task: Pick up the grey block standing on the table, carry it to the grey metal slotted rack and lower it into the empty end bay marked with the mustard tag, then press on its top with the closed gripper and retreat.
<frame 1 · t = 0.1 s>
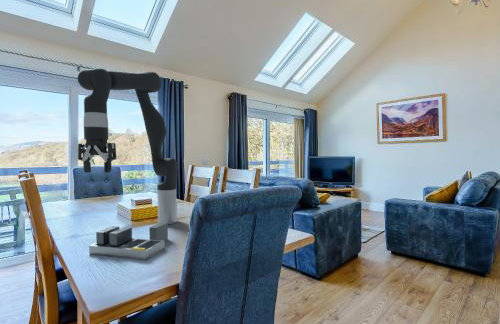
hand: (97, 172, 97), 29 cm above the table, fingers open, 8 cm apart
rack: (128, 251, 99), on the table
grey block: (159, 242, 110), on the table
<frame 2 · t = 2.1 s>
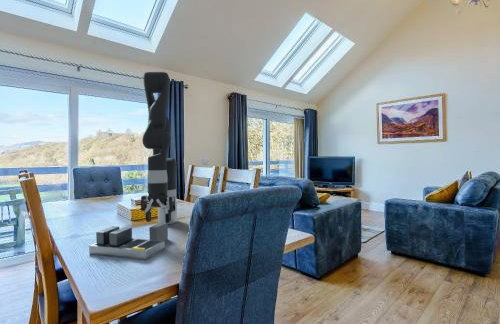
hand: (158, 222, 109), 8 cm above the table, fingers open, 8 cm apart
nothing on the table moved.
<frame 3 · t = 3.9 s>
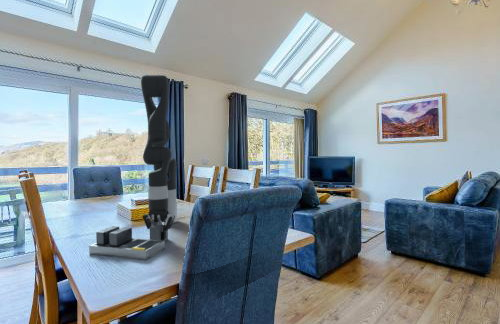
hand: (159, 239, 110), 1 cm above the table, fingers closed on grey block, 3 cm apart
grey block: (159, 242, 110), on the table, touching gripper
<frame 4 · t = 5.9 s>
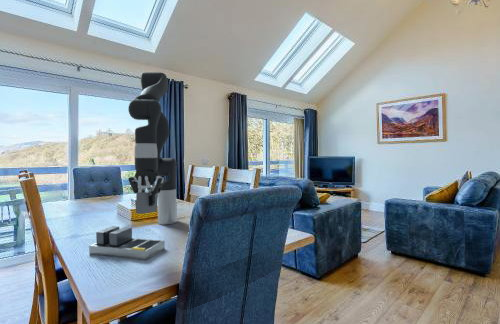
hand: (147, 205, 97), 17 cm above the table, fingers closed on grey block, 3 cm apart
grey block: (146, 212, 96), point 15 cm above the table, tilted 7°, touching gripper
when the fingers open (4 cm above the table, at t = 7.8 s): grey block stays where it is, resting on rack.
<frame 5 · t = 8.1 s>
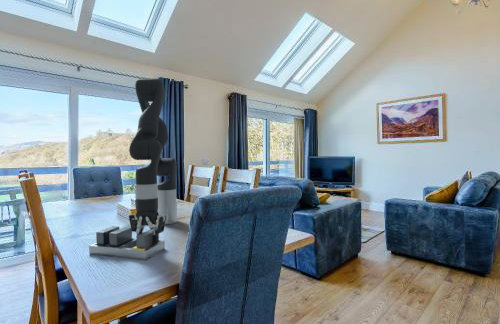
hand: (147, 243, 97), 3 cm above the table, fingers open, 5 cm apart
grey block: (147, 252, 97), point 1 cm above the table, touching rack
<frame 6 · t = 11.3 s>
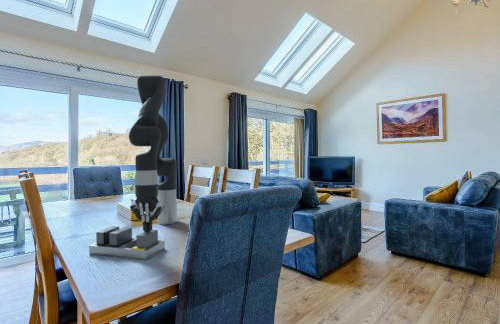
hand: (147, 231, 97), 8 cm above the table, fingers closed
nothing on the table moved.
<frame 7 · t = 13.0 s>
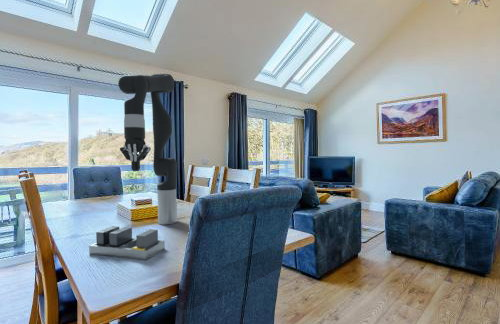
hand: (135, 171, 108), 29 cm above the table, fingers closed
nothing on the table moved.
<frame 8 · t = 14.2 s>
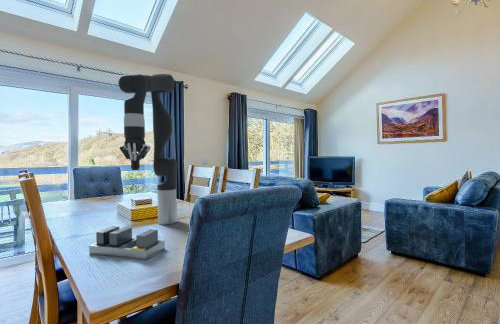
hand: (135, 170, 108), 29 cm above the table, fingers closed
nothing on the table moved.
at the end: grey block 0.3 cm from the target spot on the rack, point 0.6 cm above the rack's base; grey block tilted 0°; the gripper is holding nothing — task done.
